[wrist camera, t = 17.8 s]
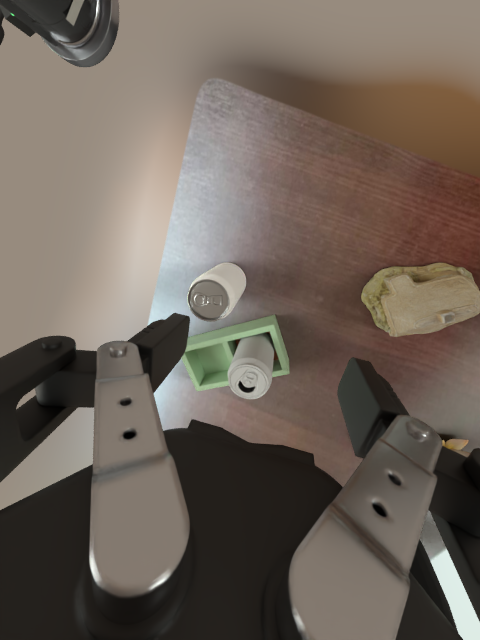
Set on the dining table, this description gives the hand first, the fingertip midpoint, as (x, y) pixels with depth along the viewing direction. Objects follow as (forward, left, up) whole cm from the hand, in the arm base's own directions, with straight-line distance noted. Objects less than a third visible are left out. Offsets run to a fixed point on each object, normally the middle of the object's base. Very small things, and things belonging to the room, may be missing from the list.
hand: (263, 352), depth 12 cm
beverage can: (-8, -13, -30) cm, 33 cm away
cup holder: (-12, -13, -30) cm, 35 cm away
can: (-9, 0, -30) cm, 32 cm away
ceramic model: (+18, -11, -30) cm, 37 cm away
